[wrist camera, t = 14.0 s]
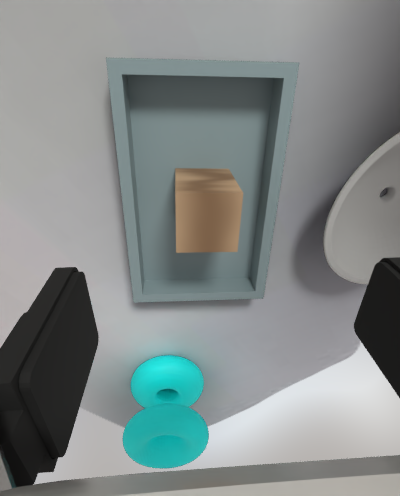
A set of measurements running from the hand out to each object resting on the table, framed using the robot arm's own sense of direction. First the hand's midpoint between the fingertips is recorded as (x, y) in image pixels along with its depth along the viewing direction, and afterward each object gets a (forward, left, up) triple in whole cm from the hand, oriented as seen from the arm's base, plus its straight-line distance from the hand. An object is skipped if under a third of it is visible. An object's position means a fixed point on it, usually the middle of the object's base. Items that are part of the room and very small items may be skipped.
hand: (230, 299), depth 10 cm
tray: (0, +4, -21) cm, 21 cm away
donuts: (+4, +31, -21) cm, 37 cm away
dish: (-19, +4, -21) cm, 29 cm away
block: (-1, +3, -20) cm, 21 cm away
